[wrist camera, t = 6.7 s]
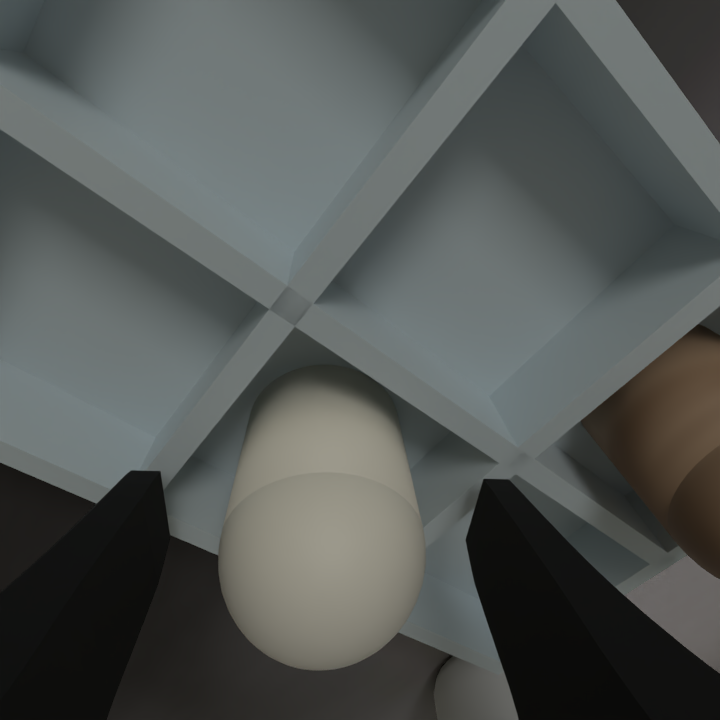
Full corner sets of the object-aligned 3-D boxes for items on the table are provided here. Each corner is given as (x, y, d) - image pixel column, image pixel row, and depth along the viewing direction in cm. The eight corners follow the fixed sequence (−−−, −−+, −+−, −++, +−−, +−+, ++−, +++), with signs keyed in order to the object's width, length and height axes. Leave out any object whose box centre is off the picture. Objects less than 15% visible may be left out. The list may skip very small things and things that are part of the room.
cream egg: (408, 368, 12) (470, 573, 7) (388, 485, 14) (425, 713, 9) (246, 360, 12) (182, 572, 7) (250, 482, 14) (203, 720, 9)
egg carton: (802, 353, 14) (912, 411, 11) (474, 594, 19) (498, 675, 16) (186, -397, 7) (97, -717, 4) (-95, 307, 11) (-220, 368, 9)
